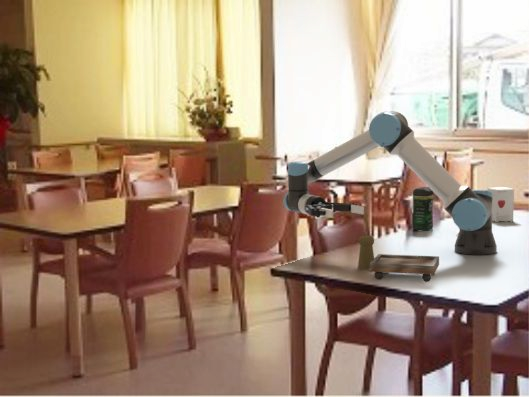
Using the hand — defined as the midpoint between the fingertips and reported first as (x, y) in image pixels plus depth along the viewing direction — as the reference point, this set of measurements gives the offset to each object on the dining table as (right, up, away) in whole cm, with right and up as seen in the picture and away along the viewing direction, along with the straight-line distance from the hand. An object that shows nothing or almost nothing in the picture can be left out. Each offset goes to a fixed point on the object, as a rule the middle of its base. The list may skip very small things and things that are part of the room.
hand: (348, 212), depth 288 cm
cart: (+16, -21, -22) cm, 35 cm away
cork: (+6, -19, -6) cm, 21 cm away
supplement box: (+78, -5, +87) cm, 117 cm away
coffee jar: (+39, -9, +68) cm, 79 cm away
